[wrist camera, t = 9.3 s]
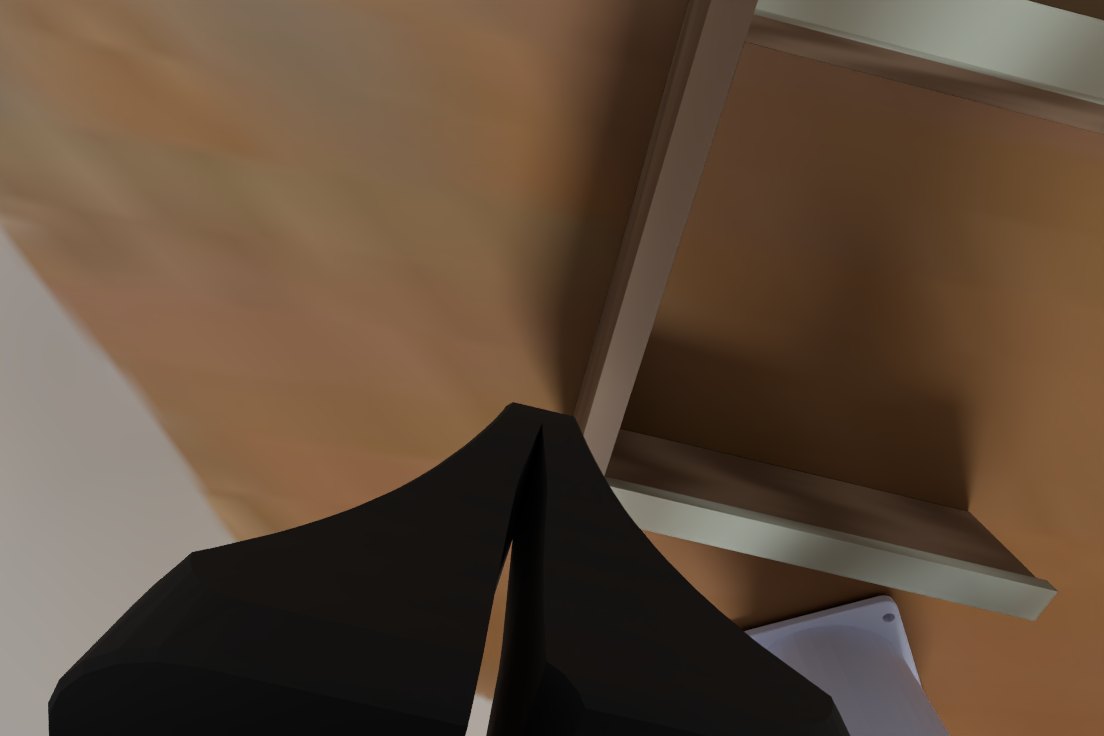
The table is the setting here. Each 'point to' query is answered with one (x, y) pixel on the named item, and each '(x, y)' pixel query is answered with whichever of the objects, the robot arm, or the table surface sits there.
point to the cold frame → (655, 232)
